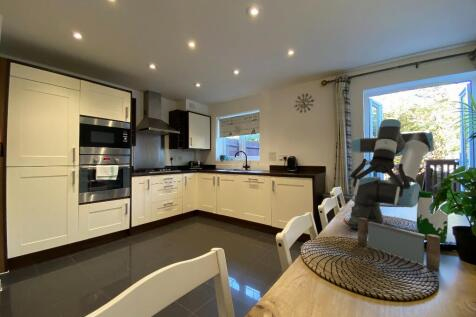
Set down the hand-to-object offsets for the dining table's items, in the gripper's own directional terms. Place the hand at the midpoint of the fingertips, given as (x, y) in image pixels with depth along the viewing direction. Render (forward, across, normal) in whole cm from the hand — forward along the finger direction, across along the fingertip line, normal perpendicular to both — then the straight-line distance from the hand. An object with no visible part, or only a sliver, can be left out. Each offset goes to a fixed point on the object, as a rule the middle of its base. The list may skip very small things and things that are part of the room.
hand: (374, 199), depth 84 cm
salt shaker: (+11, -6, +19) cm, 22 cm away
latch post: (+18, +18, -3) cm, 26 cm away
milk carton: (+6, +21, +20) cm, 29 cm away
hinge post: (+18, -1, +4) cm, 18 cm away
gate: (+18, +9, 0) cm, 20 cm away
